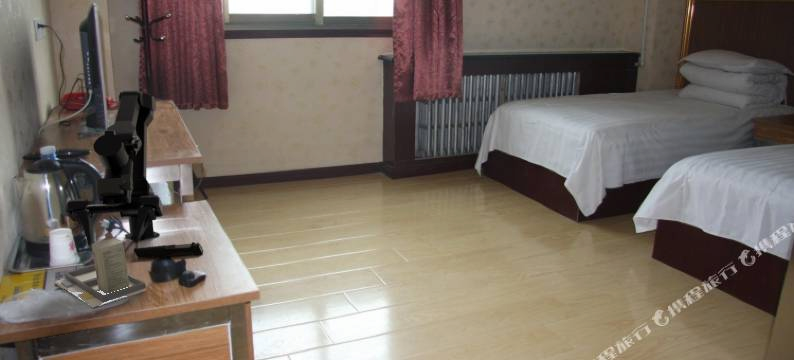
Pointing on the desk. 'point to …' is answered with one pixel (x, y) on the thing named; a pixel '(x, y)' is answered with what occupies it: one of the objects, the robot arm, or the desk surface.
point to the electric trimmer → (168, 250)
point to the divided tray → (96, 286)
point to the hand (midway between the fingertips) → (113, 244)
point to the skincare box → (110, 265)
